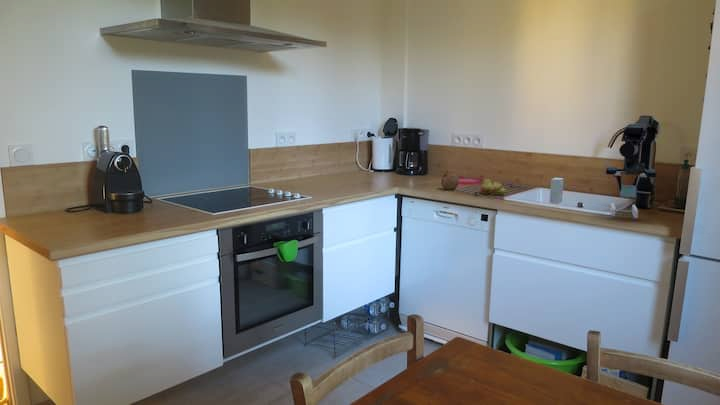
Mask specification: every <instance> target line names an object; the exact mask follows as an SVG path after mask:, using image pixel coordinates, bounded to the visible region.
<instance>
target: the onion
mask: <svg viewBox="0 0 720 405" xmlns="http://www.w3.org/2000/svg"><path fill="white" fill-rule="evenodd" d="M440 183H441V186H442V188H443V189H444V190H446V191H454V190H455V189H456V188H457V187H458V185H459V177H458V176H457V175H456V174H453V173H445V174H443V176H442V177H441V181H440Z"/></svg>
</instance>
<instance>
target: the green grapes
mask: <svg viewBox="0 0 720 405" xmlns="http://www.w3.org/2000/svg"><path fill="white" fill-rule="evenodd" d="M480 192H481V194H484V195H489V196H501V195H504V194H505V193H506V189H505V188H504V187H503V184H502V183H501V182H499V181H496V180H495V181H493V180H492V179H490V178H489V177H486V178H484V179H483V181H482V185H481V186H480Z"/></svg>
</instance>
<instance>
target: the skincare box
mask: <svg viewBox="0 0 720 405" xmlns="http://www.w3.org/2000/svg"><path fill="white" fill-rule="evenodd" d="M550 180H551V181H550V189H549V191H550V192H549V202H548V203H549V204H553V205H554V204H555V205H558V204H562V202H563V193H564V180H565V178H563V177H562V178H561V177H553V178H551V179H550Z"/></svg>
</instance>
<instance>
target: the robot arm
mask: <svg viewBox="0 0 720 405" xmlns="http://www.w3.org/2000/svg"><path fill="white" fill-rule="evenodd" d="M659 133H660V122H658V120H656V119H655V118H654V116H652V115H640V116H639V119H637V120H636V121H635V122H634V123H628V124H627V125H626V127H624V130H623V134H622V136H621V142H625V143H623V144H621V145H620V147H619V150H618V152H619V154H620V155H621V156H622V157H623V165H622V166H623V167H622V168H617V166H609V165H608V166H606V167H605V171H604V172H605V174H606V175H611V176H612V177H613V178H614V177H615V178H616V181H617V185H618V190H619V192H620V191H621V185H622V175H621V174H625V175H628V176H629V175H634V176H636V177H635V178H634V180H633V182H632V186H636V188H637V189H636V198H635V202H634V203H633V204H632V205H635V206H636V208H640V209H641V208H642V209H651V206H650V199H651V198H650V197H652V196H656V185H655V182H654V178H657V171H656V169H654V168H651V164H652V154H653V144H654V141H655V140H656V139H657V137H658V135H659Z"/></svg>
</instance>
